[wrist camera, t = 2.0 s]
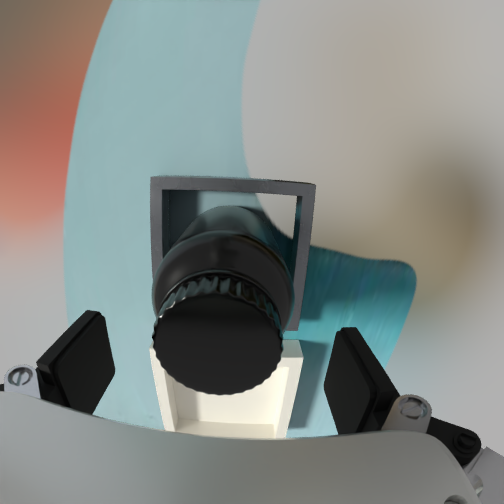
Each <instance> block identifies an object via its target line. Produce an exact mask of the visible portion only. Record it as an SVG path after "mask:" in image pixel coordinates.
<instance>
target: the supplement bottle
mask: <svg viewBox="0 0 504 504" xmlns="http://www.w3.org/2000/svg"><path fill="white" fill-rule="evenodd" d="M294 304H295V293H294V287H293V282H292V279H291V275H290V273H289V270H288V268H287V266H286V263H285V261H284V259H283V256H282V254H281V252H280V249H279V247H278V245H277V242H276V240H275V238H274V236H273V234H272V232H271V230H270V228H269V227H268V225H267V224H266V223H265V222H264V221H263V220H262V219H261V218H260V217H259V216H258V215H256V214H255V213H253V212H251V211H249V210H247V209H244V208H241V207H236V206H220V207H216V208H213V209H210V210H208V211H206V212H204V213H202V214H201V215H199V216H198V217H197V218H196V219H195V220H194V221H193V222H192V223H191V224H190V225H189V226H188V227H187V229H186V230H185V231H184V232H183V234H182V235H181V236H180V237H179V239H178V240H177V241H176V242H175V244H174V245H173V246H172V248H171V249H170V250H169V251H168V253H167V254H166V255H165V257H164V258H163V260H162V261H161V263H160V265H159V267H158V269H157V271H156V274H155V276H154V280H153V285H152V305H153V310H154V313H155V316H156V321H155V323H154V332H153V334H152V339H153V341H154V343H153V349H154V350H155V352H156V358H157V359H158V360H159V361H160V365H161V367H162V368H164V369H165V370H166V372H167V374H168V375H169V376H171V377H173V378H174V379H175V381H176V382H178V383H181V384H183V385H184V386H185V387H186V388H191V389H193V390H195V391H196V392H203V393H205V394H208V395H210V394H215V395H218V396H221V395H233V394H236V393H243V392H245V391H246V390H251V389H253V388H255V387H256V386H258V385H260V384H262V383H263V382H264V381H265V380H266V379H268V378H270V376H271V374H272V372H274V371H275V370H276V369H277V364H278V363H279V362H280V361H281V354H282V352H283V349H284V347H283V334H284V332H285V330H286V329H287V327H288V325H289V323H290V321H291V318H292V315H293V311H294Z"/></svg>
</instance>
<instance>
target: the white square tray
mask: <svg viewBox="0 0 504 504" xmlns="http://www.w3.org/2000/svg"><path fill="white" fill-rule="evenodd" d="M153 343H154V341H152V344H151V346H150V348H149V350H150V357H151V363H152V369H153V374H154V380H155V385H156V390H157V396H158V400H159V405H160V410H161V414H162V419H163V423H164V427H165V430H166V431H173V432H181V433H189V434H198V435H208V436H220V437H238V438H285V437H286V433H287V429H288V425H289V421H290V417H291V413H292V408H293V404H294V400H295V395H296V391H297V386H298V382H299V377H300V373H301V368H302V363H303V358H304V357H303V354H302V350H301V346H300V343H299V340H283V347H284V349H283V352H282V354H281V361H280V362H279V363H278V364H277V369H276V370H275V371H274V372H272V374H271V376H270V378H268V379H266V380H265V381H264V382H263V383H262V384H260V385H258V386H256V387H255V388H253V389H251V390H246V391H245V392H243V393H236V394H233V395H221V396H218V395H215V394H210V395H208V394H205V393H203V392H196V391H195V390H193V389H191V388H186V387H185V386H184V385H183V384H181V383H178V382H176V381H175V379H174V378H173V377H171V376H169V375H168V374H167V372H166V370H165V369H164V368H162V367H161V365H160V361H159V360H158V359H157V358H156V352H155V350H154V349H153Z"/></svg>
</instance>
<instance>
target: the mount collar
mask: <svg viewBox="0 0 504 504" xmlns="http://www.w3.org/2000/svg"><path fill="white" fill-rule="evenodd" d="M170 189H176V190H211V191H234V192H252V193H268V194H283V195H296V196H297V203H296V214H295V225H294V235H293V245H292V254H291V264H290V275H291V279H292V282H293V287H294V293H295V304H294V311H293V315H292V318H291V321H290V323H289V325H288V327H287V329H286V331H298V326H299V320H300V313H301V307H302V300H303V293H304V286H305V279H306V271H307V263H308V256H309V247H310V239H311V229H312V221H313V210H314V201H315V189H316V185H315V184H311V183H305V182H294V181H283V180H269V179H254V178H237V177H213V176H154V177H151V185H150V222H151V255H152V274H153V280H154V276H155V274H156V271H157V269H158V267H159V265H160V263H161V261H162V260H163V258H164V257H165V255H166V254H167V253H168V251H169V250H170V236H169V204H170Z"/></svg>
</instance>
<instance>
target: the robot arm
mask: <svg viewBox="0 0 504 504" xmlns="http://www.w3.org/2000/svg"><path fill="white" fill-rule="evenodd" d="M36 363H37V366H38V367H37V368H36V369H34V368H33V367H32V366H29V365H18V366H14V367H13V368H11V369H10V370H8V371H7V373H6V374H5V377H4V384H0V504H504V457H503V456H501V455H500V454H498V453H496V452H495V451H493V450H491V449H490V448H488V447H486V448H485V449H483V448H481V441H480V438H479V437H478V436H477V434H476V433H474V432H473V431H471V430H468V429H465V428H462V427H459V426H456V425H454V424H451V423H448V422H445V421H442V420H439V419H436V418H434V417H431V413H432V409H431V406H430V404H429V403H428V402H427V401H426V400H425V399H423V398H421V397H419V396H417V395H402V396H400V395H399V393H398V391H397V390H396V388H395V386H394V385H393V383H392V382H391V380H390V378H389V377H388V375H387V374H386V372H385V370H384V369H383V367H382V366H381V364H380V363H379V361H378V360H377V358H376V357H375V355H374V354H373V352H372V351H371V349H370V348H369V346H368V345H367V343H366V341H365V340H364V338H363V337H362V335H361V334H360V332H359V331H358V329H357V328H356V327H343V328H341V330H340V331H337V332H336V335H335V340H334V344H333V349H332V353H331V357H330V361H329V365H328V369H327V373H326V377H325V381H324V391H325V394H326V397H327V401H328V404H329V407H330V410H331V413H332V416H333V419H334V422H335V425H336V428H337V431H338V434H339V435H330V436H318V437H299V438H238V437H220V436H208V435H198V434H189V433H181V432H173V431H166V430H160V429H154V428H149V427H143V426H138V425H133V424H128V423H124V422H119V421H115V420H111V419H107V418H103V417H99V416H95V415H92V414H93V412H94V410H95V409H96V407H97V405H98V403H99V401H100V399H101V398H102V396H103V394H104V392H105V391H106V389H107V387H108V385H109V384H110V382H111V380H112V378H113V377H114V374H115V366H114V361H113V357H112V352H111V347H110V343H109V338H108V332H107V327H106V321H105V317H104V316H102V315H101V313H100V312H97V311H91V310H87V311H85V312H84V313H83V314H82V315H81V316H80V317H79V318H78V319H77V320H76V321H75V322H74V323H73V324H72V325H71V326H70V327H69V328H68V329H67V330H66V331H65V332H64V333H63V334H62V335H61V336H60V337H59V339H58V340H57V341H56V342H55V343H54V344H53V345H52V346H51V347H50V348H49V349H48V350H47V351H46V352H45V353H44V354H43V355H42V356H41V357H40V359H38V361H37V362H36Z"/></svg>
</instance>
